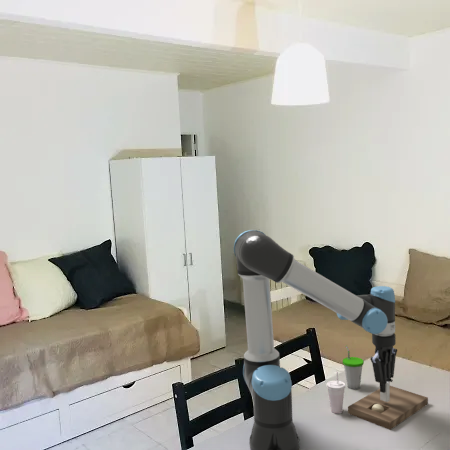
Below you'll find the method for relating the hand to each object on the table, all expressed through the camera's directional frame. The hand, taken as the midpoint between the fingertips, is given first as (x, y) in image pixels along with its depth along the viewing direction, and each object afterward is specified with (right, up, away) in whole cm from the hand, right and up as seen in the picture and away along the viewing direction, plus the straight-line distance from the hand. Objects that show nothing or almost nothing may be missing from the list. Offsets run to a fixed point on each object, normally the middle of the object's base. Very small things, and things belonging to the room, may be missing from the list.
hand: (384, 400), depth 176 cm
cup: (-5, -2, +21) cm, 21 cm away
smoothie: (-16, -5, +2) cm, 17 cm away
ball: (-3, -2, -3) cm, 5 cm away
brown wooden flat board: (+2, -4, +2) cm, 4 cm away
